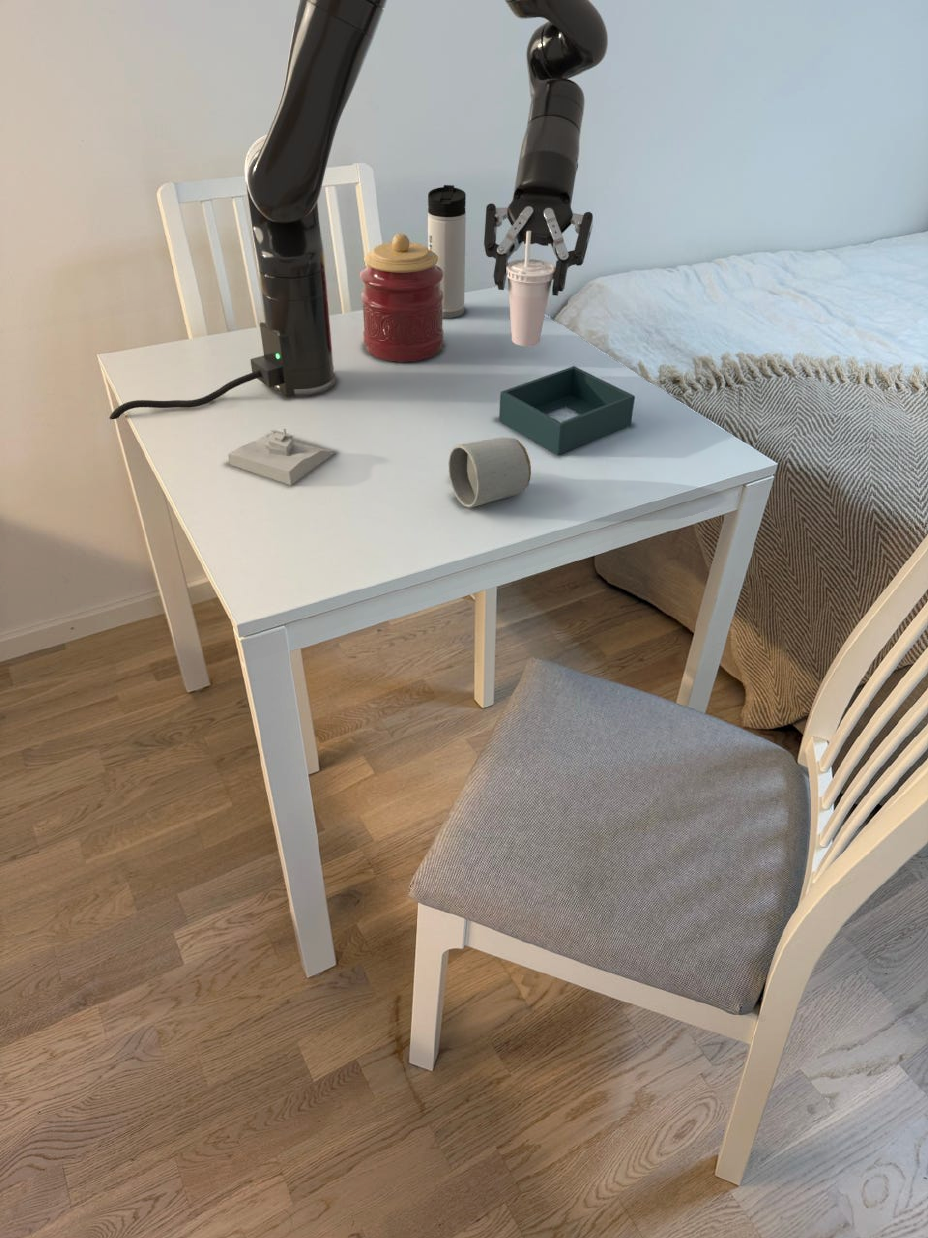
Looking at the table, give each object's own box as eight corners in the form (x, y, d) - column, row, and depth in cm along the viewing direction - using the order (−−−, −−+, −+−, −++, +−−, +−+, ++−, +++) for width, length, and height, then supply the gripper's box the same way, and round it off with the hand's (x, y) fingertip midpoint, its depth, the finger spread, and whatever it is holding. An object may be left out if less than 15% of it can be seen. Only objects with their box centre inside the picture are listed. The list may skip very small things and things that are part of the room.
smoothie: (499, 331, 121) (504, 223, 112) (545, 330, 121) (554, 223, 112) (504, 350, 116) (510, 239, 107) (553, 350, 116) (563, 239, 107)
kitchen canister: (409, 324, 152) (406, 216, 140) (459, 348, 144) (461, 235, 133) (348, 344, 145) (340, 232, 133) (398, 370, 138) (394, 254, 126)
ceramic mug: (533, 501, 109) (537, 446, 105) (476, 519, 106) (477, 462, 101) (489, 464, 116) (491, 410, 112) (434, 479, 113) (434, 425, 108)
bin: (557, 455, 118) (560, 425, 115) (498, 420, 126) (500, 391, 123) (630, 425, 125) (635, 395, 122) (571, 394, 132) (573, 365, 130)
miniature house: (339, 445, 119) (337, 420, 117) (308, 487, 111) (305, 461, 109) (257, 433, 122) (253, 408, 119) (221, 474, 113) (216, 448, 111)
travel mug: (465, 305, 159) (468, 185, 146) (462, 319, 154) (464, 196, 141) (431, 303, 159) (430, 183, 146) (426, 317, 154) (425, 194, 141)
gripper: (490, 143, 111) (469, 270, 110) (604, 152, 109) (584, 281, 108) (495, 178, 119) (475, 297, 117) (602, 187, 117) (583, 308, 115)
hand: (527, 289), depth 113 cm, fingers closed on smoothie, 6 cm apart
